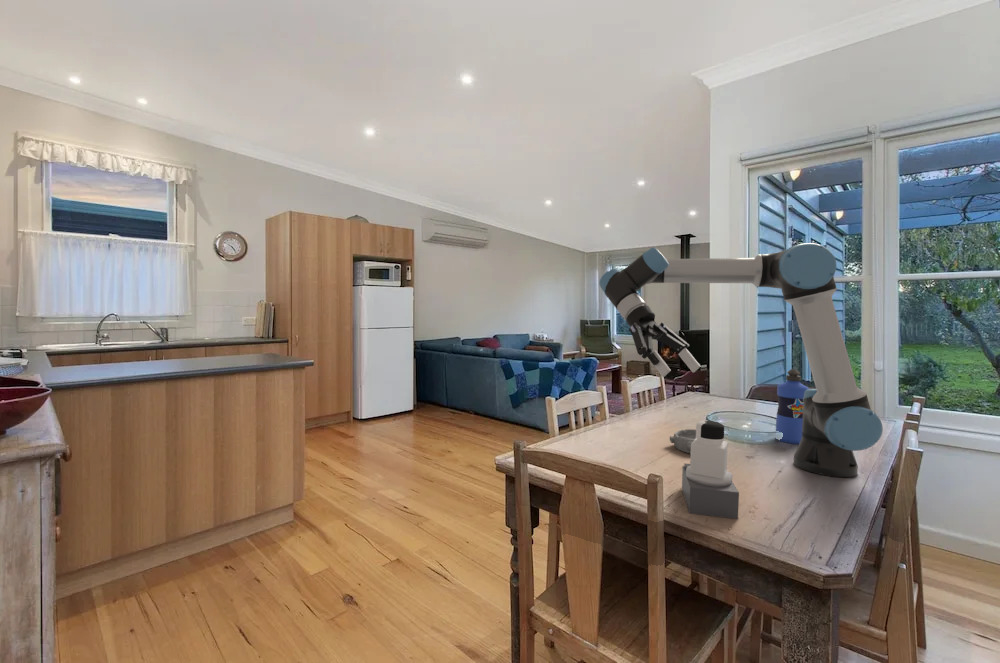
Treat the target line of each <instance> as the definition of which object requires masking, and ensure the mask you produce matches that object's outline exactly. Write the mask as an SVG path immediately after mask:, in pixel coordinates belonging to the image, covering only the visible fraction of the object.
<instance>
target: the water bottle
mask: <svg viewBox="0 0 1000 663" xmlns="http://www.w3.org/2000/svg"><path fill="white" fill-rule="evenodd" d="M800 374H801V372H800V371H799V370H797V369H796V368H795V369H794V368H792V369H789V370H788V371H787V375H785V376H786V377H785V378H786V381H785V382H783V383H780V384H778V385H777V388H776V394H777V403H778V404H777V405H778V407H777V410H776V411H777V412H776V417H775V418H776V420H775V421H776V422H775V432H776V431H779V432H782V433H783V437H782V439H780V441H779V442H781V443H785V444H790V445H791V444H792V445H799V443H800V441H801V439H802V423H803V398H804V392H805V391H806V390H807V389H810V388H809V387H808V386H807V385H804V384H802V383H801V379H802V376H800Z"/></svg>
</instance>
